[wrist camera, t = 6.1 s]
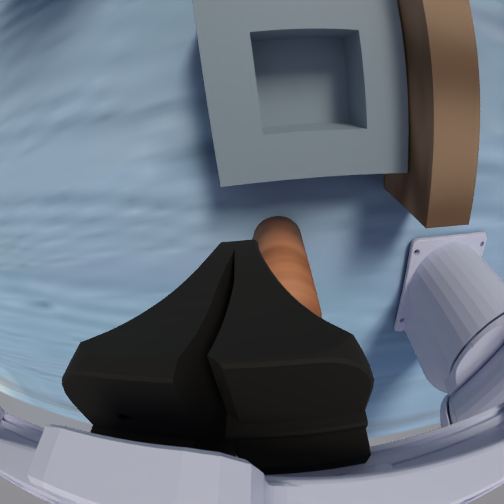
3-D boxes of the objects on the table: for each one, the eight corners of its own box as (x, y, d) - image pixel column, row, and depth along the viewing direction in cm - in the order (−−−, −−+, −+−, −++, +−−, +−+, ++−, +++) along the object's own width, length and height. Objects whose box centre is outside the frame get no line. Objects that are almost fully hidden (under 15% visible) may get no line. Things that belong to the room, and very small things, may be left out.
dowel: (301, 255, 21) (320, 339, 14) (256, 260, 22) (256, 345, 15) (299, 213, 20) (322, 288, 13) (251, 218, 20) (248, 296, 13)
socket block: (380, 155, 18) (407, 172, 14) (227, 167, 18) (220, 187, 15) (369, 9, 13) (395, -6, 9) (205, 15, 13) (192, -2, 10)
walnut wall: (421, 186, 18) (468, 224, 13) (384, 188, 19) (425, 228, 13) (405, -32, 10) (451, -58, 5) (363, -40, 10) (401, -75, 5)
